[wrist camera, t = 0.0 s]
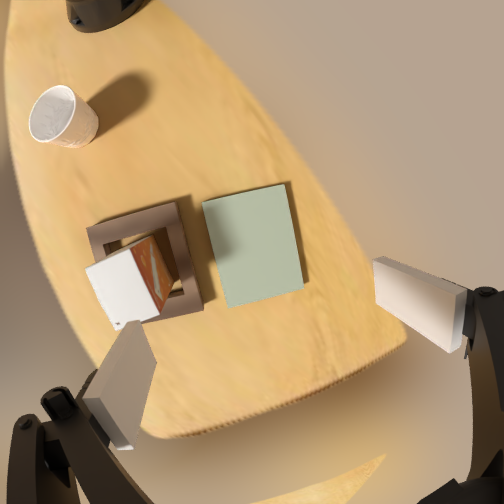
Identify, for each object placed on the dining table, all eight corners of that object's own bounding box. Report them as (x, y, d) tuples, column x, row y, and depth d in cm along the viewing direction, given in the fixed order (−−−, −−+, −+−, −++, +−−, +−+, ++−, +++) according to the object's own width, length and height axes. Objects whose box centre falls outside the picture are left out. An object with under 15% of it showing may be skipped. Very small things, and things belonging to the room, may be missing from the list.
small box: (175, 282, 42) (161, 316, 29) (139, 296, 41) (114, 333, 29) (153, 232, 40) (129, 247, 27) (118, 248, 40) (82, 269, 27)
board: (201, 202, 40) (201, 202, 39) (281, 184, 41) (284, 184, 40) (227, 304, 43) (228, 308, 42) (301, 285, 45) (304, 288, 43)
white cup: (84, 96, 34) (57, 75, 24) (111, 123, 36) (86, 104, 26) (53, 133, 34) (20, 121, 25) (78, 161, 36) (46, 154, 26)
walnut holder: (92, 226, 38) (86, 228, 36) (176, 201, 40) (174, 201, 37) (122, 322, 42) (118, 328, 39) (204, 304, 43) (203, 310, 40)
